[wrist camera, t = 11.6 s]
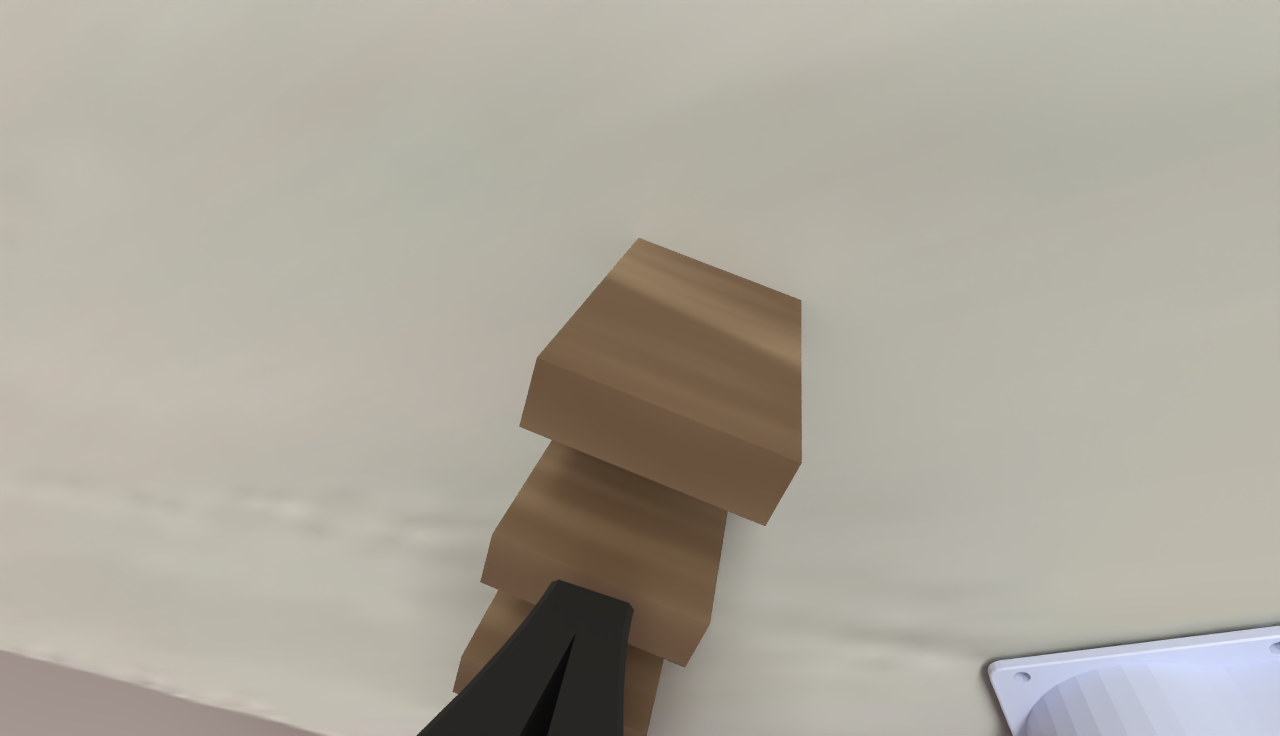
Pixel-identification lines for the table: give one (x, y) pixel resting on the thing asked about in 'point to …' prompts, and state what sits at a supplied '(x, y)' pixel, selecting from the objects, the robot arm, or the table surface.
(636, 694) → the domino
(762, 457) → the domino
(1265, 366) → the table surface
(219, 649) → the table surface
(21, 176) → the table surface
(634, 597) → the domino
